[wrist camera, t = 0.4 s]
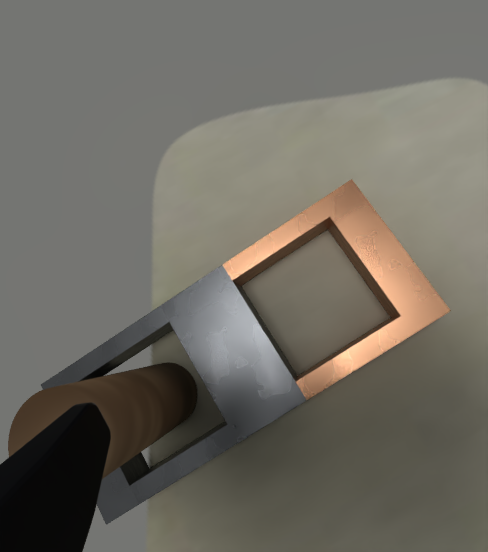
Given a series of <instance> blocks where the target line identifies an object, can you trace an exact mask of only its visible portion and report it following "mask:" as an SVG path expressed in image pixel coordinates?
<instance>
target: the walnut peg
mask: <svg viewBox="0 0 488 552" xmlns="http://www.w3.org/2000/svg"><path fill="white" fill-rule="evenodd" d="M88 402H92V403H95V404H96V405H97V406H98V408H99V410H100V412H101V413H102V415H103V417H104V419H105V421H106V423H107V424H108V426H109V428H110V432H111V441H110V446H109V450H108V455H107V459H106V464H105V468H104V473H103V477H102V479H103V478H105V477H106V476H107V475H109V474H110V473H112V472H113V471H114V470H116V469H117V468H119V467H120V466H122V465H123V464H124V463H126V462H127V461H129V460H130V459H131V458H133V457H134V456H136V455H137V454H138V453H140V452H141V451H143V450H144V449H145V448H147V447H148V446H150V445H151V444H153V443H154V442H155V441H157V440H158V439H160V438H161V437H163V436H164V435H165V434H167V433H168V432H170V431H171V430H172V429H174V428H175V427H177V426H178V425H180V424H181V423H182V422H184V421H185V420H186V419H187V418H188V417H189V416H190V415H191V414H192V412H193V410H194V408H195V405H196V402H197V388H196V384H195V381H194V379H193V377H192V376H191V374H190V373H189V372H188V371H187V370H186V369H185V368H183V367H182V366H180V365H177V364H174V363H162V364H157V365H152V366H148V367H143V368H139V369H134V370H129V371H125V372H121V373H116V374H111V375H107V376H102V377H97V378H93V379H88V380H84V381H79V382H74V383H70V384H65V385H61V386H56V387H52V388H47V389H44V390H42V391H39V392H38V393H36V394H35V395H33V396H31V397H30V398H29V399H28V400H27V401H26V402H25V403H24V404H23V405H22V407H21V408H20V409H19V411H18V412H17V414H16V416H15V418H14V420H13V423H12V425H11V429H10V434H9V441H8V451H9V457H10V456H11V455H13V454H14V453H15V452H16V451H18V450H19V449H20V448H21V447H23V446H24V445H25V444H26V443H27V442H29V441H30V440H31V439H32V438H34V437H35V436H36V435H37V434H39V433H40V432H41V431H42V430H44V429H45V428H46V427H47V426H48V425H50V424H51V423H52V422H53V421H55V420H56V419H57V418H58V417H60V416H61V415H62V414H63V413H65V412H66V411H67V410H68V409H69V408H71V407H72V406H74V405H76V404H81V403H88Z"/></svg>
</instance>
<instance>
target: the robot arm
mask: <svg viewBox="0 0 488 552" xmlns="http://www.w3.org/2000/svg"><path fill="white" fill-rule="evenodd" d="M110 441H111V432H110V428H109V426H108V424H107V423H106V421H105V419H104V417H103V415H102V413H101V412H100V410H99V408H98V406H97V405H96V404H95V403H92V402H88V403H81V404H76V405H74V406H72V407H71V408H69V409H68V410H67V411H66V412H65V413H63V414H62V415H61V416H60V417H58V418H57V419H56V420H55V421H53V422H52V423H51V424H50V425H48V426H47V427H46V428H45V429H44V430H42V431H41V432H40V433H39V434H37V435H36V436H35V437H34V438H32V439H31V440H30V441H29V442H27V443H26V444H25V445H24V446H23V447H21V448H20V449H19V450H18V451H16V452H15V453H14V454H13V455H11V456H10V457H9V458H8V459H7V460H5V461H4V462H3V463H2V464H0V552H82V551H83V548H84V545H85V542H86V539H87V536H88V532H89V529H90V526H91V523H92V519H93V516H94V512H95V508H96V504H97V500H98V495H99V491H100V486H101V482H102V477H103V473H104V468H105V464H106V459H107V455H108V450H109V446H110Z"/></svg>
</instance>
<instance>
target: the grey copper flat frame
mask: <svg viewBox="0 0 488 552" xmlns="http://www.w3.org/2000/svg"><path fill="white" fill-rule="evenodd" d="M327 229H328V230H329V231H330V233H331V234H332V236H333V237H334V238H335V240H336V241H337V243H338V244H339V245H340V247H341V248H342V250H343V251H344V252H345V254H346V255H347V257H348V258H349V259H350V261H351V262H352V264H353V265H354V267H355V268H356V269H357V271H358V272H359V274H360V275H361V276H362V278H363V279H364V281H365V282H366V283H367V285H368V286H369V288H370V289H371V290H372V292H373V293H374V295H375V296H376V297H377V299H378V300H379V302H380V303H381V304H382V306H383V307H384V309H385V310H386V312H387V313H388V314H389V316H390V317H391V318H389V319H388V320H386V321H385V322H383V323H381V324H380V325H378V326H377V327H375V328H373V329H372V330H370V331H369V332H367V333H365V334H364V335H362V336H361V337H359V338H357V339H356V340H354V341H353V342H351V343H349V344H348V345H346V346H345V347H343V348H341V349H340V350H338V351H337V352H335V353H334V354H332V355H330V356H329V357H327V358H326V359H324V360H322V361H321V362H319V363H318V364H316V365H314V366H313V367H311V368H310V369H308V370H306V371H305V372H303V373H302V374H300V375H298V376H297V375H296V373H295V372H294V370H293V368H292V367H291V365H290V364H289V362H288V360H287V359H286V357H285V356H284V354H283V352H282V351H281V349H280V348H279V346H278V344H277V343H276V341H275V340H274V338H273V336H272V335H271V333H270V332H269V330H268V329H267V327H266V325H265V324H264V322H263V321H262V319H261V317H260V316H259V314H258V313H257V311H256V309H255V308H254V306H253V305H252V303H251V301H250V300H249V298H248V297H247V295H246V294H245V292H244V290H243V289H242V287H241V285H243V284H244V283H246V282H248V281H249V280H251V279H252V278H254V277H255V276H257V275H258V274H260V273H261V272H263V271H264V270H266V269H267V268H269V267H270V266H272V265H274V264H275V263H277V262H278V261H280V260H281V259H283V258H284V257H286V256H287V255H289V254H290V253H292V252H293V251H295V250H296V249H298V248H300V247H301V246H303V245H304V244H306V243H307V242H309V241H310V240H312V239H313V238H315V237H316V236H318V235H319V234H321V233H322V232H324V231H326V230H327ZM450 311H451V310H450V309H449V308H448V306H447V305H446V304H445V302H444V301H443V300H442V298H441V297H440V296H439V294H438V293H437V292H436V290H435V289H434V288H433V286H432V285H431V284H430V282H429V281H428V280H427V279H426V277H425V276H424V275H423V273H422V272H421V271H420V269H419V268H418V267H417V265H416V264H415V263H414V261H413V260H412V259H411V257H410V256H409V255H408V253H407V252H406V251H405V249H404V248H403V247H402V245H401V244H400V243H399V241H398V240H397V239H396V237H395V236H394V235H393V233H392V232H391V231H390V229H389V228H388V227H387V225H386V224H385V223H384V221H383V220H382V219H381V217H380V216H379V215H378V213H377V212H376V211H375V209H374V208H373V207H372V205H371V204H370V203H369V201H368V200H367V199H366V198H365V196H364V195H363V194H362V192H361V191H360V190H359V188H358V187H357V186H356V184H355V183H354V182H353V180H352V179H351V180H350V181H348V182H347V183H345V184H344V185H342V186H341V187H339V188H338V189H336V190H335V191H333V192H332V193H330V194H329V195H327V196H326V197H324V198H323V199H321V200H320V201H318V202H317V203H315V204H314V205H312V206H311V207H309V208H307V209H306V210H304V211H303V212H301V213H300V214H298V215H297V216H295V217H294V218H292V219H291V220H289V221H288V222H286V223H285V224H283V225H282V226H280V227H279V228H277V229H276V230H274V231H273V232H271V233H270V234H268V235H267V236H265V237H264V238H262V239H261V240H259V241H258V242H256V243H255V244H253V245H252V246H250V247H248V248H247V249H245V250H244V251H242V252H241V253H239V254H238V255H236V256H235V257H233V258H232V259H230V260H229V261H227V262H226V263H224V264H223V265H221V266H220V267H218V268H217V269H215V270H214V271H212V272H211V273H209V274H208V275H206V276H205V277H203V278H202V279H200V280H199V281H197V282H196V283H194V284H192V285H191V286H189V287H188V288H186V289H185V290H183V291H182V292H180V293H179V294H177V295H176V296H174V297H173V298H171V299H170V300H168V301H167V302H165V303H164V304H162V305H161V306H159V307H158V308H156V309H155V310H153V311H152V312H150V313H149V314H147V315H146V316H144V317H143V318H141V319H140V320H138V321H137V322H135V323H134V324H132V325H131V326H129V327H127V328H126V329H124V330H123V331H122V332H120V333H118V334H117V335H115V336H114V337H112V338H111V339H109V340H108V341H106V342H105V343H103V344H102V345H100V346H99V347H97V348H96V349H94V350H93V351H91V352H90V353H88V354H87V355H85V356H84V357H82V358H81V359H79V360H78V361H76V362H75V363H73V364H71V365H70V366H68V367H67V368H65V369H64V370H62V371H61V372H59V373H58V374H56V375H55V376H53V377H52V378H50V379H49V380H47V381H46V382H44V383H43V384H41V386H42V388H43V390H44V389H47V388H52V387H56V386H61V385H65V384H70V383H74V382H79V381H84V380H88V379H93V378H97V377H102V376H104V375H105V374H107V373H108V372H110V371H111V370H113V369H114V368H116V367H117V366H119V365H121V364H122V363H123V362H125V361H127V360H128V359H130V358H131V357H133V356H134V355H136V354H137V353H139V352H140V351H142V350H143V349H145V348H146V347H148V346H150V345H151V344H153V343H154V342H156V341H157V340H159V339H160V338H162V337H163V336H165V335H166V334H168V333H169V332H171V331H173V330H174V331H175V333H176V335H177V336H178V338H179V340H180V342H181V343H182V345H183V347H184V349H185V350H186V352H187V354H188V356H189V357H190V359H191V361H192V363H193V364H194V366H195V368H196V370H197V372H198V373H199V375H200V377H201V379H202V380H203V382H204V384H205V386H206V387H207V389H208V391H209V393H210V394H211V396H212V398H213V400H214V401H215V403H216V405H217V407H218V409H219V410H220V412H221V414H222V416H223V417H224V419H225V422H223V423H222V424H220V425H219V426H217V427H215V428H214V429H212V430H211V431H209V432H207V433H206V434H204V435H203V436H201V437H199V438H198V439H196V440H195V441H193V442H191V443H190V444H188V445H187V446H185V447H183V448H182V449H180V450H179V451H177V452H175V453H174V454H172V455H171V456H169V457H168V458H166V459H164V460H163V461H161V462H160V463H158V464H156V465H155V466H153V467H152V468H150V469H149V467H148V465H147V463H146V461H145V459H144V457H143V455H142V453H141V452H140V453H138V454H137V455H136V456H134V457H133V458H131V459H130V460H129V461H127V462H126V463H124V464H123V465H122V466H120V467H119V468H117V469H116V470H114V471H113V472H112V473H110V474H109V475H107V476H106V477H105V478H103V479H102V482H101V486H100V491H99V495H98V500H97V506H98V508H99V510H100V512H101V514H102V516H103V518H104V521H105V523H106V524H108V523H110V522H111V521H113V520H114V519H116V518H118V517H119V516H121V515H122V514H124V513H126V512H127V511H129V510H131V509H132V508H134V507H135V506H137V505H139V504H140V503H142V502H144V501H145V500H147V499H148V498H150V497H152V496H153V495H155V494H156V493H158V492H160V491H161V490H163V489H165V488H166V487H168V486H169V485H171V484H173V483H174V482H176V481H177V480H179V479H181V478H182V477H184V476H185V475H187V474H189V473H190V472H192V471H194V470H195V469H197V468H198V467H200V466H202V465H203V464H205V463H206V462H208V461H210V460H211V459H213V458H215V457H216V456H218V455H219V454H221V453H223V452H224V451H226V450H227V449H229V448H231V447H232V446H234V445H235V444H237V443H239V442H240V441H242V440H244V439H245V438H247V437H248V436H250V435H252V434H253V433H255V432H256V431H258V430H260V429H261V428H263V427H264V426H266V425H268V424H269V423H271V422H273V421H274V420H276V419H277V418H279V417H281V416H282V415H284V414H285V413H287V412H289V411H290V410H292V409H294V408H295V407H297V406H298V405H300V404H302V403H303V402H305V401H306V400H308V399H310V398H311V397H313V396H314V395H316V394H318V393H319V392H321V391H323V390H324V389H326V388H327V387H329V386H331V385H332V384H334V383H335V382H337V381H339V380H340V379H342V378H344V377H345V376H347V375H348V374H350V373H352V372H353V371H355V370H356V369H358V368H360V367H361V366H363V365H364V364H366V363H368V362H369V361H371V360H373V359H374V358H376V357H377V356H379V355H381V354H382V353H384V352H385V351H387V350H389V349H390V348H392V347H394V346H395V345H397V344H398V343H400V342H402V341H403V340H405V339H406V338H408V337H410V336H411V335H413V334H414V333H416V332H418V331H419V330H421V329H423V328H424V327H426V326H427V325H429V324H431V323H432V322H434V321H435V320H437V319H439V318H440V317H442V316H444V315H445V314H447V313H448V312H450Z"/></svg>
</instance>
